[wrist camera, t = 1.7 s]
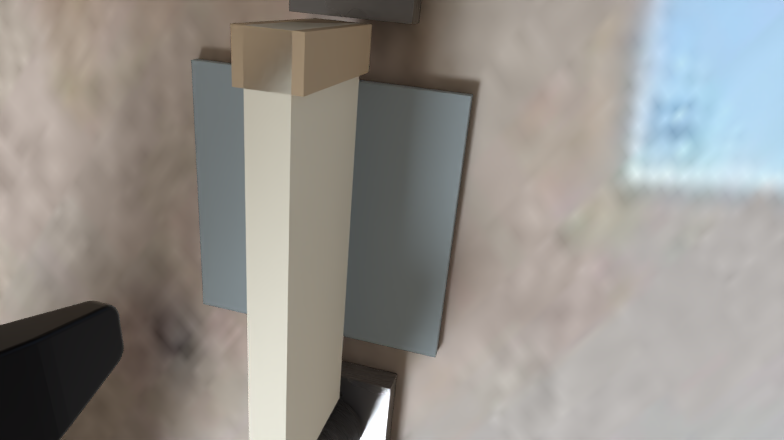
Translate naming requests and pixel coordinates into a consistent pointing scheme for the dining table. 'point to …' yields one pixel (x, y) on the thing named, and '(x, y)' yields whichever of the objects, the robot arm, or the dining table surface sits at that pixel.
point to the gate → (297, 212)
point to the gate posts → (358, 383)
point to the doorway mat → (368, 206)
